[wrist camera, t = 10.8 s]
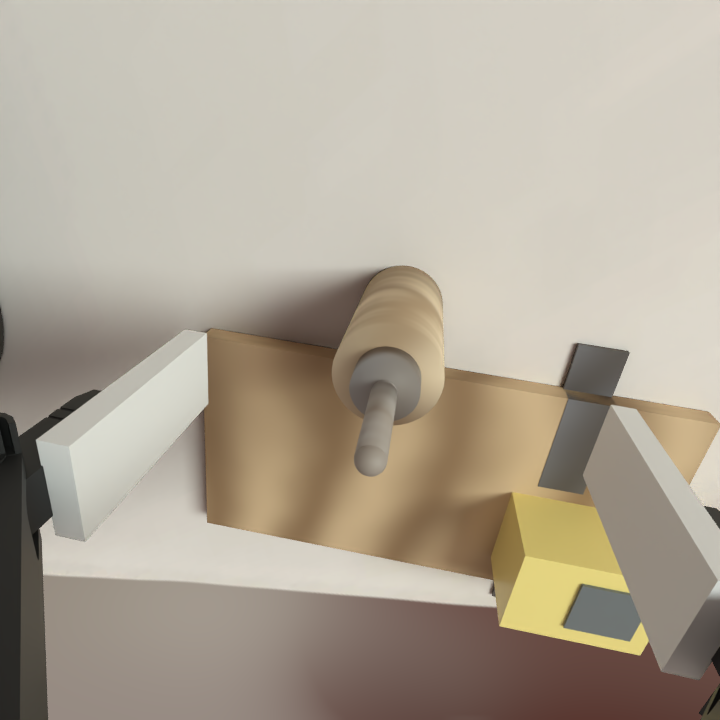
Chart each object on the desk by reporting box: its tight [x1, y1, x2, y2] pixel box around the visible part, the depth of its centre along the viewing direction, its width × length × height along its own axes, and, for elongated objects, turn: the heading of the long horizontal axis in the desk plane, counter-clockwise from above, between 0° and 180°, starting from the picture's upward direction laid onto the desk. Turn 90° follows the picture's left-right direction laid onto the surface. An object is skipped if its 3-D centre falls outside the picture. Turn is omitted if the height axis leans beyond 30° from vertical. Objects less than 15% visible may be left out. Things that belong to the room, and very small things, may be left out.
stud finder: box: [491, 492, 649, 655], centre depth 25 cm, size 7×5×5 cm
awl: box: [332, 266, 445, 477], centre depth 18 cm, size 4×4×13 cm
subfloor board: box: [204, 328, 720, 597], centre depth 28 cm, size 26×18×1 cm
